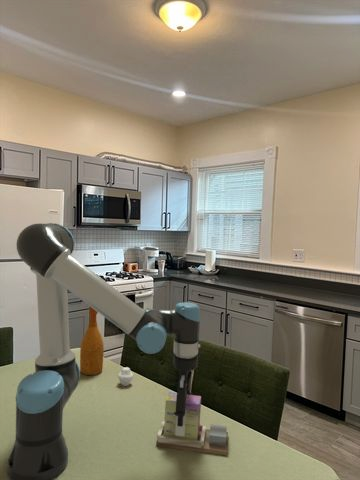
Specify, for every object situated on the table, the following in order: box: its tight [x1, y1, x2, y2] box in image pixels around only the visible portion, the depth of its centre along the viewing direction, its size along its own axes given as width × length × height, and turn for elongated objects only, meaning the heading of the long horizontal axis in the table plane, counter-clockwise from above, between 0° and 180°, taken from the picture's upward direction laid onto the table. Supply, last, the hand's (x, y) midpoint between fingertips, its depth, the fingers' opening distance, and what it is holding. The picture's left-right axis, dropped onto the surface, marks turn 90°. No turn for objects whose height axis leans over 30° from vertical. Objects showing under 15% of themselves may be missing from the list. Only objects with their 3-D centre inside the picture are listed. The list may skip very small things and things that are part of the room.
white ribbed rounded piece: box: [117, 366, 134, 387], centre depth 146 cm, size 6×6×7 cm
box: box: [164, 391, 202, 440], centre depth 111 cm, size 10×6×12 cm, turn 81°
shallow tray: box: [155, 419, 229, 456], centre depth 110 cm, size 10×21×4 cm, turn 81°
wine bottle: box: [79, 306, 105, 376], centre depth 156 cm, size 10×10×30 cm
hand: (182, 425), depth 111 cm, fingers open, 9 cm apart
